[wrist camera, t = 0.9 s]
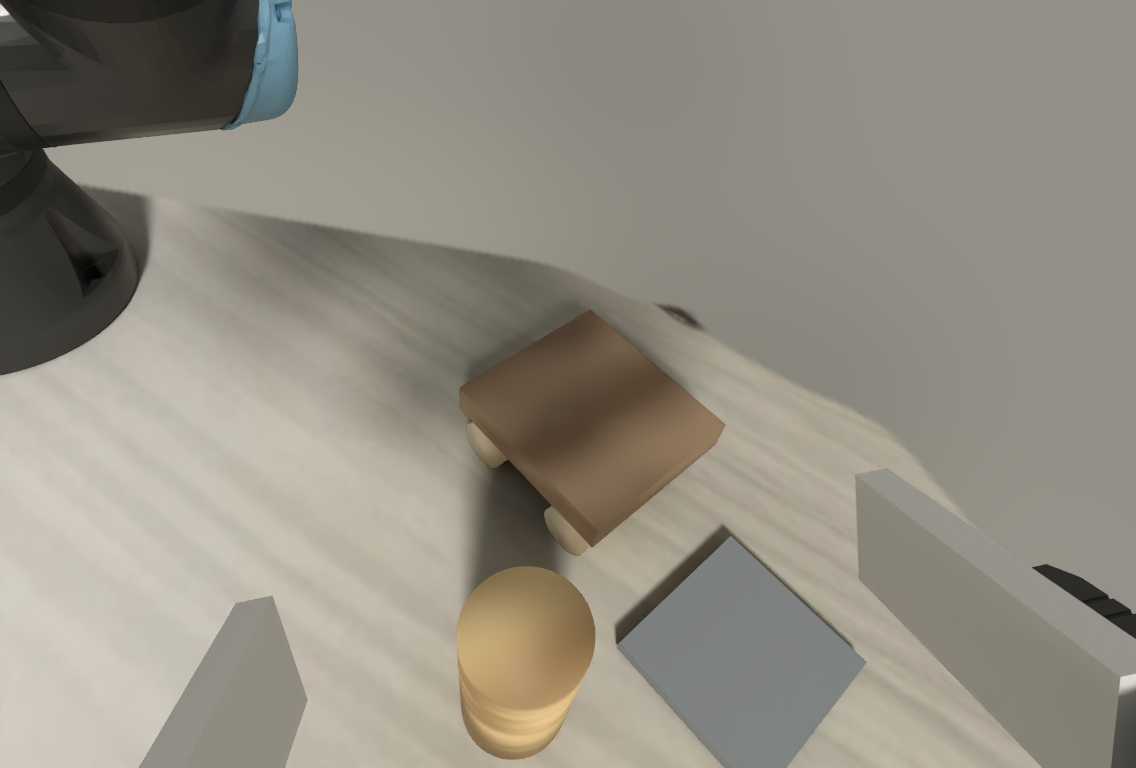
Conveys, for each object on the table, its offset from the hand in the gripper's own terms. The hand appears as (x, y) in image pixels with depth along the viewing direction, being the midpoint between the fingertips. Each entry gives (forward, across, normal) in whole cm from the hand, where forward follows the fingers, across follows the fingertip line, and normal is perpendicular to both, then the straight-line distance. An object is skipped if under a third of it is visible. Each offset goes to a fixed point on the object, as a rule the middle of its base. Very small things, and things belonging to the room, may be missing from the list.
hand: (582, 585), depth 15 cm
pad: (+15, +8, -16) cm, 23 cm away
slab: (+25, +2, -8) cm, 26 cm away
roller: (+14, -4, -15) cm, 20 cm away
